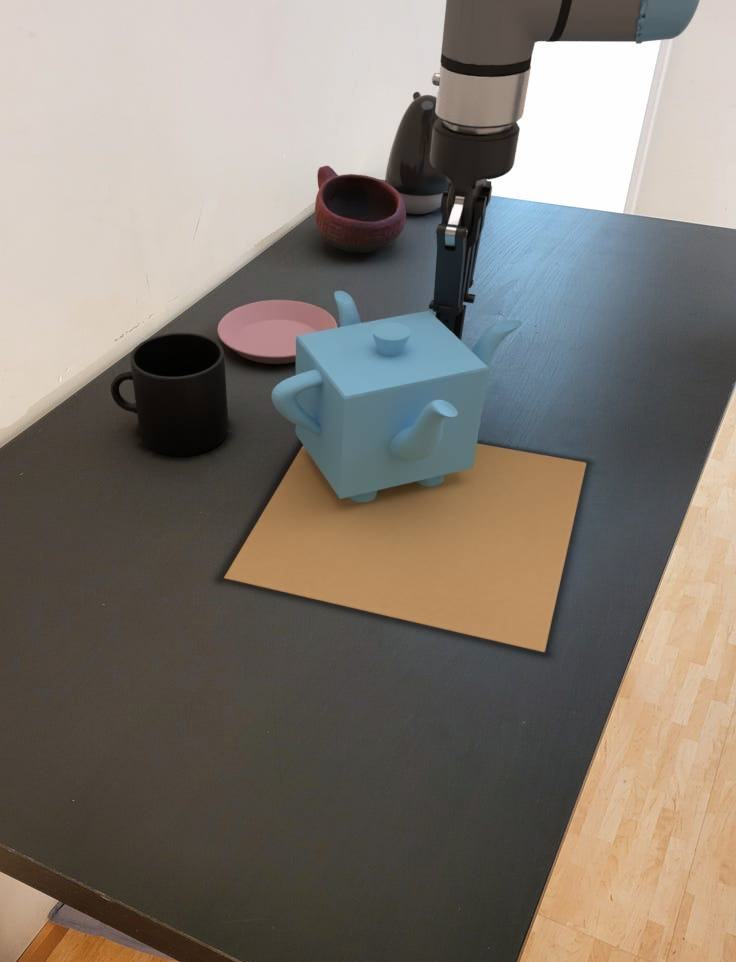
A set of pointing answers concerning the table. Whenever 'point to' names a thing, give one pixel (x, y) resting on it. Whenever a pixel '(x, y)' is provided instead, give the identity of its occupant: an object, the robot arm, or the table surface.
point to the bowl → (357, 211)
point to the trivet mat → (427, 545)
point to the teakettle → (388, 399)
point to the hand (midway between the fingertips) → (443, 364)
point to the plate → (271, 329)
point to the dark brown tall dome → (416, 158)
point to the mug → (177, 393)
